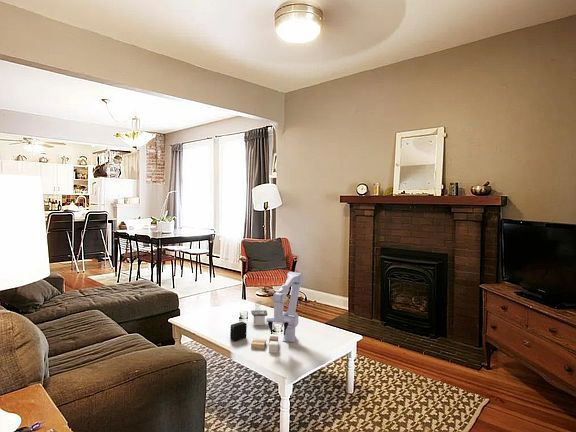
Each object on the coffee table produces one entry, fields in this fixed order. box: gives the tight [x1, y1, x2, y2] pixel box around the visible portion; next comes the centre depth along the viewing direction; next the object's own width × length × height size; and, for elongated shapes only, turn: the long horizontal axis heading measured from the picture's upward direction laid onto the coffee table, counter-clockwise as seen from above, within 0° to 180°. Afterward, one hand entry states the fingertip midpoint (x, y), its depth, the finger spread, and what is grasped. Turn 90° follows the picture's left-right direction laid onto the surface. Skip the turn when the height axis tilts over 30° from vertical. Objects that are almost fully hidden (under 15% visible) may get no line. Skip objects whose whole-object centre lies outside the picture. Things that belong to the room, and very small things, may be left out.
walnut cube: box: [268, 335, 279, 344], centre depth 228 cm, size 5×5×5 cm
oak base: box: [250, 338, 267, 350], centre depth 226 cm, size 8×8×3 cm
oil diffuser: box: [250, 301, 268, 326], centre depth 266 cm, size 26×24×17 cm
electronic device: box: [229, 321, 248, 342], centre depth 236 cm, size 4×10×10 cm, turn 135°
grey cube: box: [268, 340, 279, 354], centre depth 220 cm, size 5×5×5 cm
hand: (278, 334), depth 222 cm, fingers open, 7 cm apart
